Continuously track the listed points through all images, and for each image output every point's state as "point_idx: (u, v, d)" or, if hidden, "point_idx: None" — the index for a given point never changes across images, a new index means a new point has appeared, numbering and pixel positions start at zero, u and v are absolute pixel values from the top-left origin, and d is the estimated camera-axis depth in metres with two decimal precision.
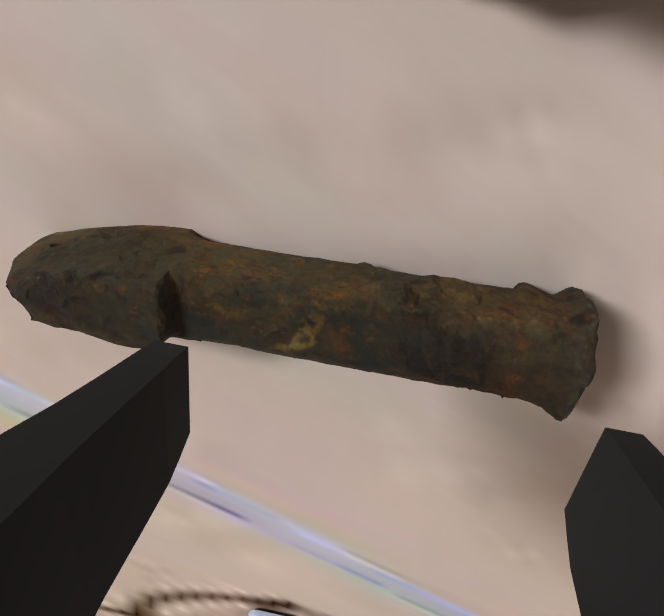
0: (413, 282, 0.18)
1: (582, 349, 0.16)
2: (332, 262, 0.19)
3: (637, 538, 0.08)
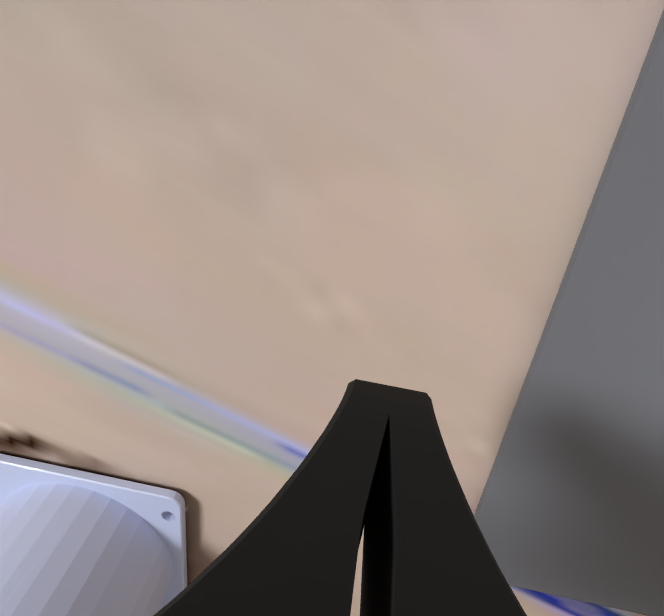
0: None
1: None
2: None
3: (383, 485, 0.08)
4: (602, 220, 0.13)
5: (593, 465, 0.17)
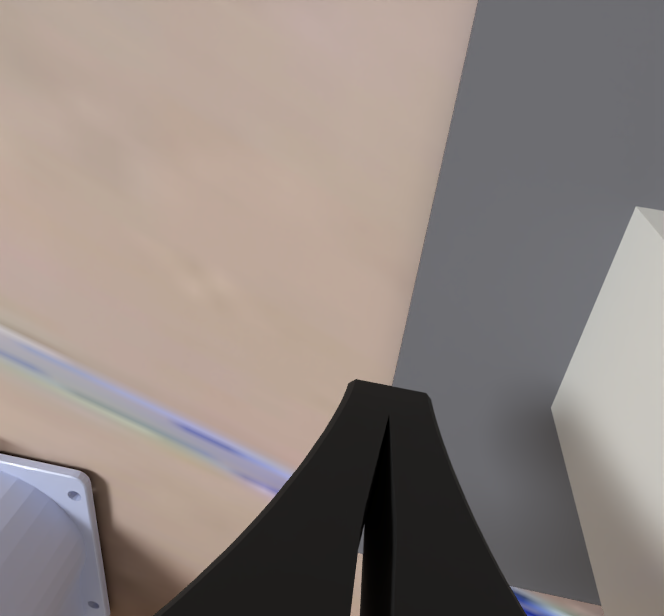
0: None
1: None
2: None
3: (383, 486, 0.08)
4: (446, 195, 0.13)
5: (470, 441, 0.17)
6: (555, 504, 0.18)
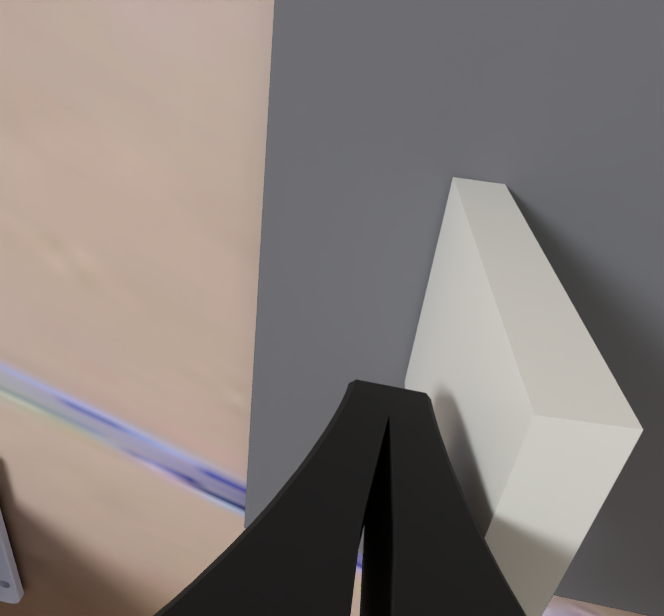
0: None
1: None
2: None
3: (383, 485, 0.08)
4: (275, 166, 0.14)
5: None
6: None
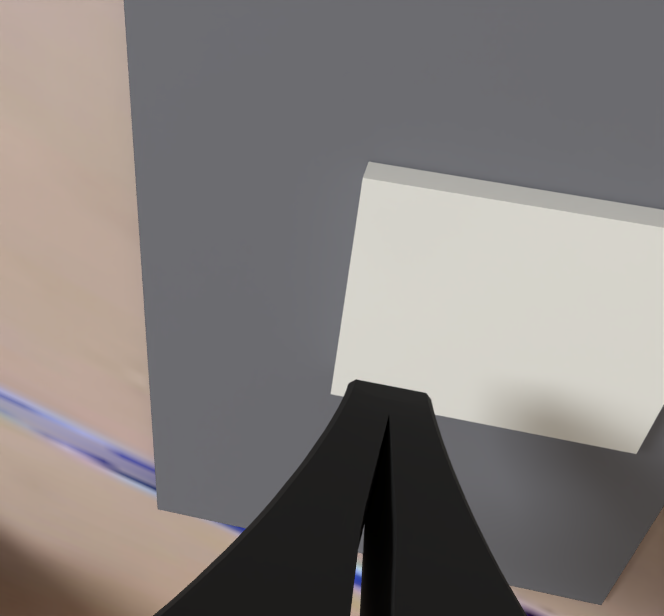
0: None
1: None
2: None
3: (383, 485, 0.08)
4: (142, 143, 0.14)
5: (229, 393, 0.18)
6: None
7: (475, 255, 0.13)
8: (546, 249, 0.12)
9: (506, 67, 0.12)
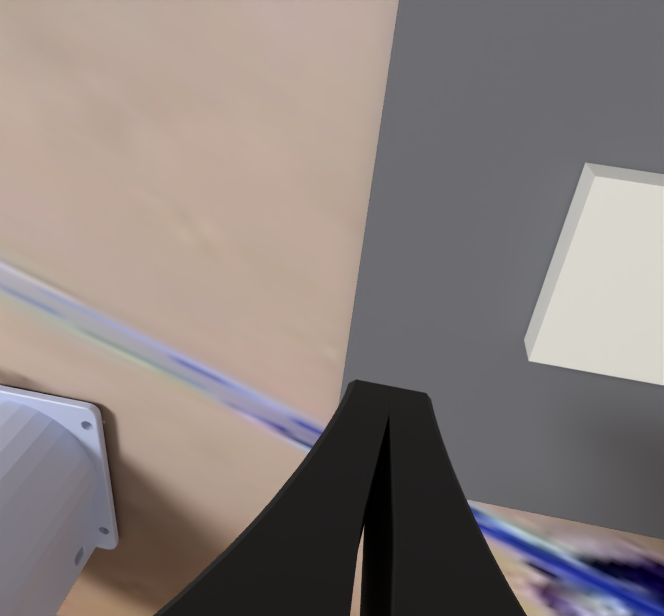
0: None
1: None
2: None
3: (383, 485, 0.08)
4: (385, 148, 0.17)
5: (419, 364, 0.20)
6: (494, 419, 0.21)
7: None
8: None
9: None
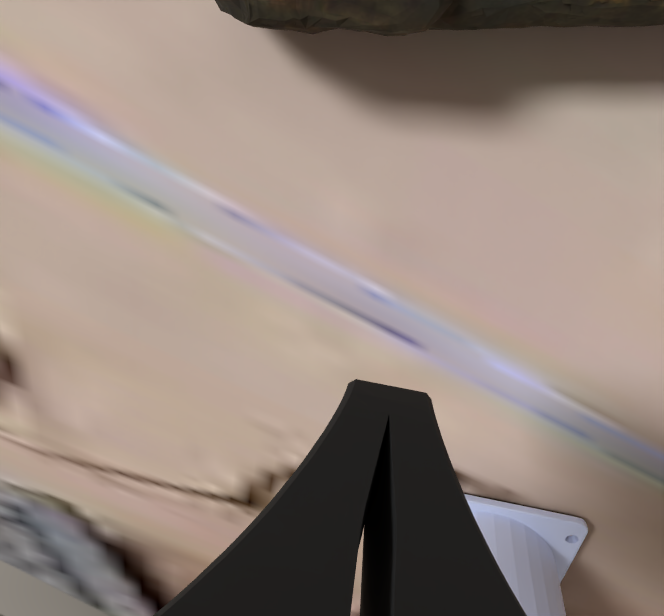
0: None
1: None
2: None
3: (383, 485, 0.08)
4: None
5: None
6: None
7: None
8: None
9: None
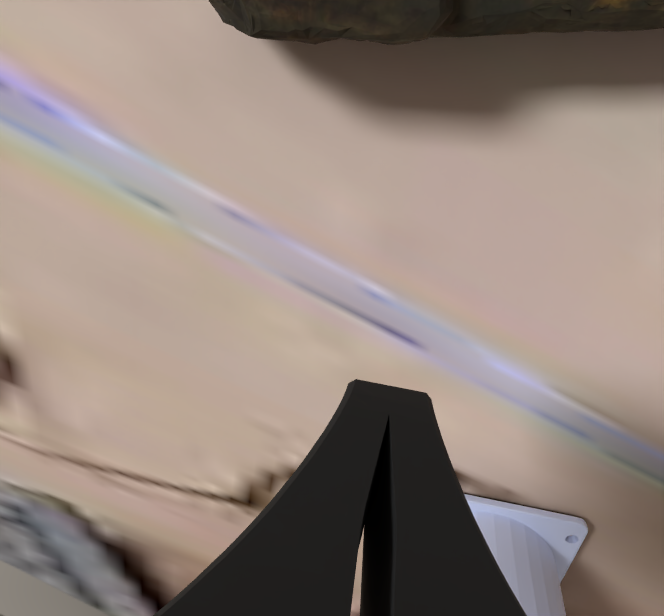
0: None
1: None
2: None
3: (383, 485, 0.08)
4: None
5: None
6: None
7: None
8: None
9: None
